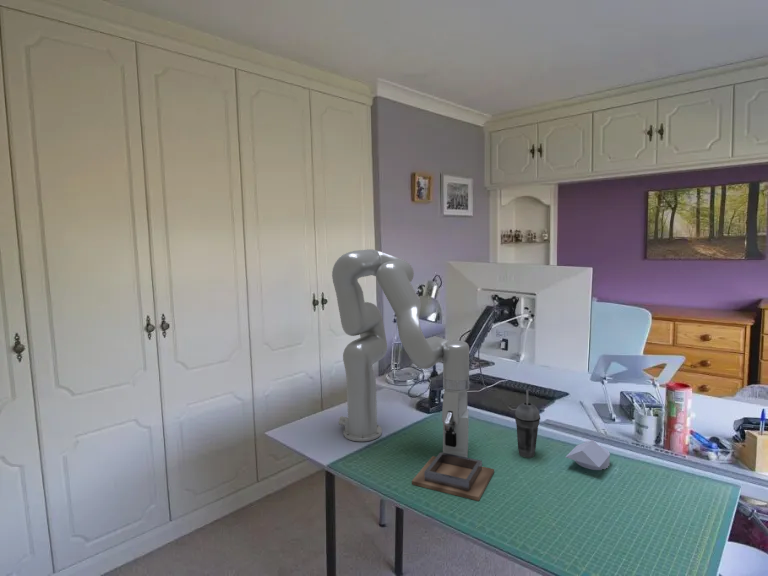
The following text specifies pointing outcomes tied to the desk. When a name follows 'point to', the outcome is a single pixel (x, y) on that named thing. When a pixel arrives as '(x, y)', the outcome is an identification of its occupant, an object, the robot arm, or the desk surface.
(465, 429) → the supplement box
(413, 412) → the desk surface
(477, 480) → the collar board
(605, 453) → the grey faceted rock
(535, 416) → the beverage cup
